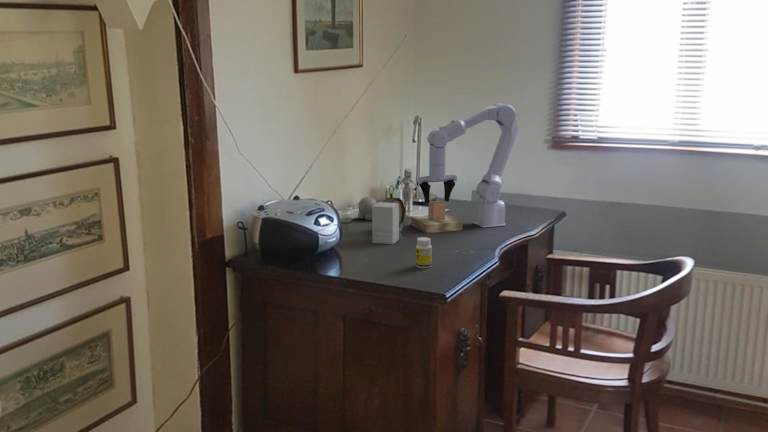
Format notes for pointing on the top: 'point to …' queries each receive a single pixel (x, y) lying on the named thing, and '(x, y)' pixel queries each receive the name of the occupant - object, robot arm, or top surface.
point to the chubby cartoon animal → (366, 208)
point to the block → (436, 210)
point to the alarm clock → (401, 206)
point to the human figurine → (407, 189)
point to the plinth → (436, 224)
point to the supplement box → (385, 222)
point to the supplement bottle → (423, 253)
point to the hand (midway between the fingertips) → (436, 201)
